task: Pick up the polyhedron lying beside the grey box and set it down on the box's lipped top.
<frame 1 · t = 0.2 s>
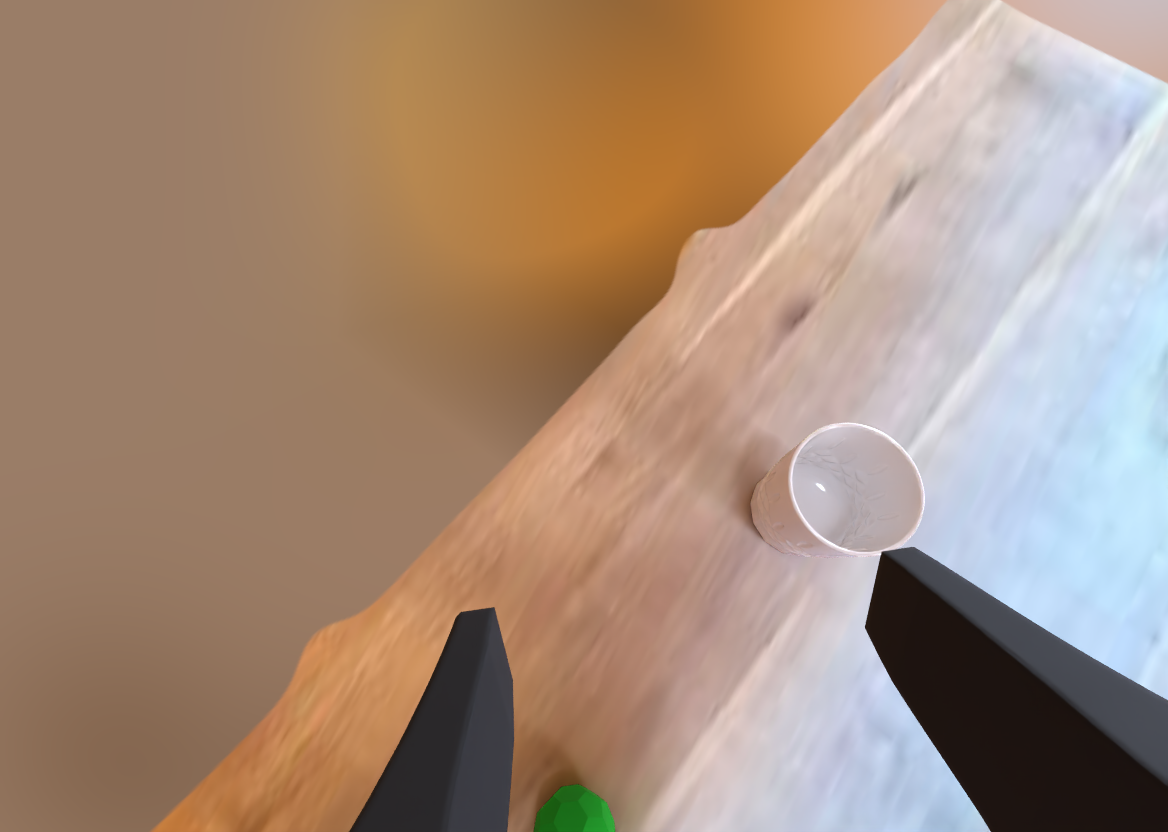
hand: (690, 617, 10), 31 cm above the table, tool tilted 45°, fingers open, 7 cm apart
polyhedron: (575, 817, 35), on the table
white cup: (793, 511, 41), on the table
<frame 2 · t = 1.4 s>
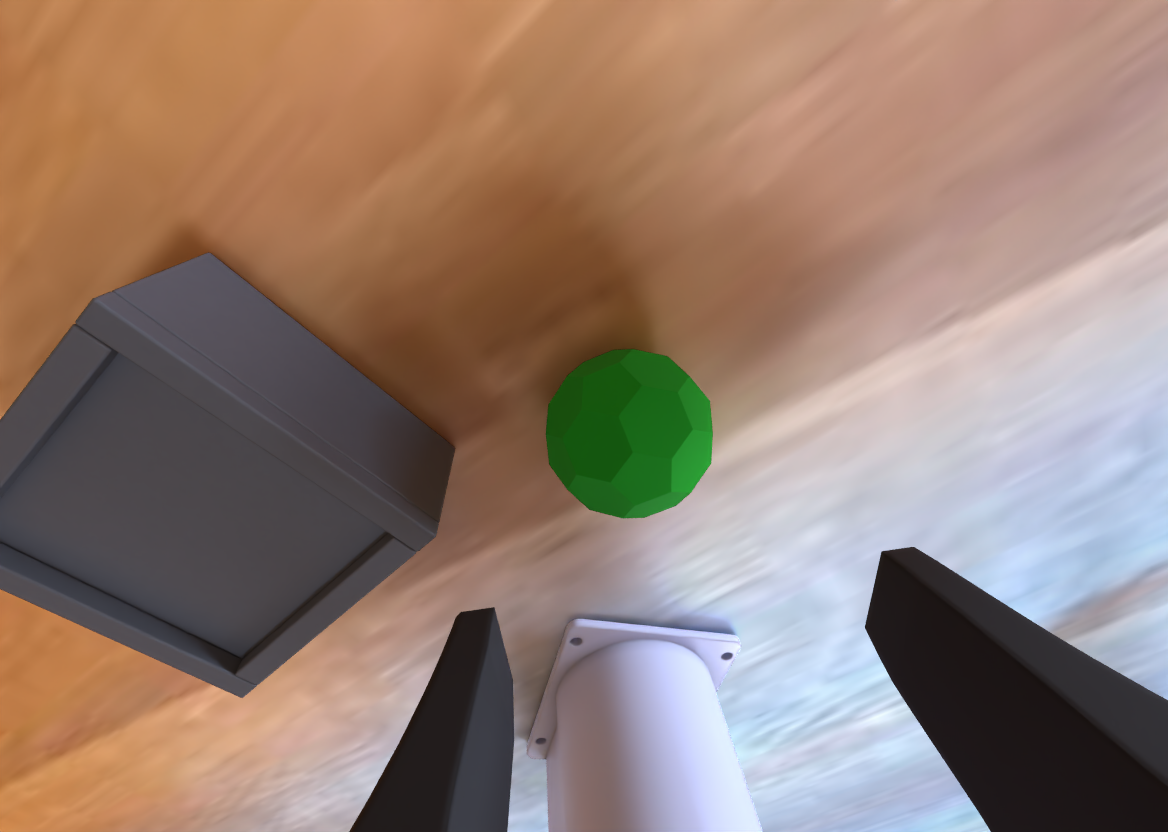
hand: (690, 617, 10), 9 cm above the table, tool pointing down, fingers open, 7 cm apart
grey box: (260, 447, 18), on the table
polyhedron: (616, 395, 18), on the table
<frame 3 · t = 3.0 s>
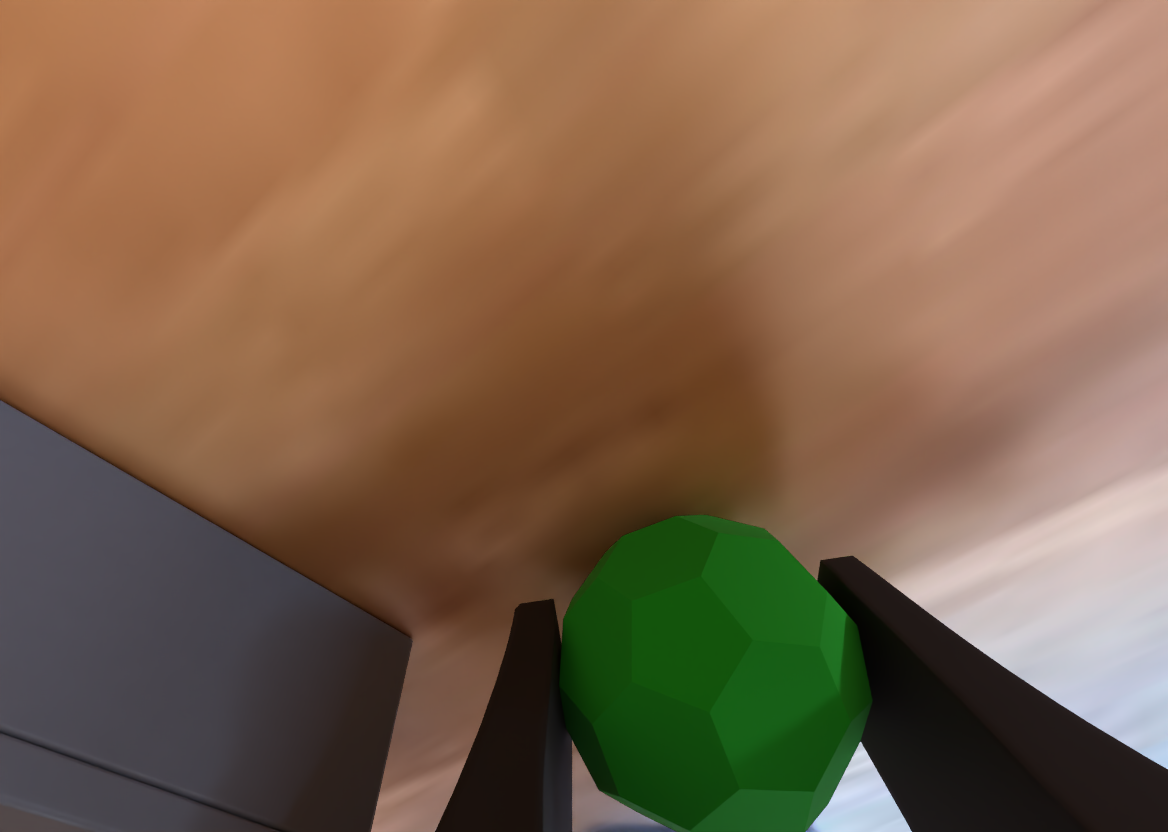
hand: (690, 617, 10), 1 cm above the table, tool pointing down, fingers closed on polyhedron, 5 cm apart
grey box: (92, 650, 11), on the table
polyhedron: (668, 557, 12), on the table, touching gripper
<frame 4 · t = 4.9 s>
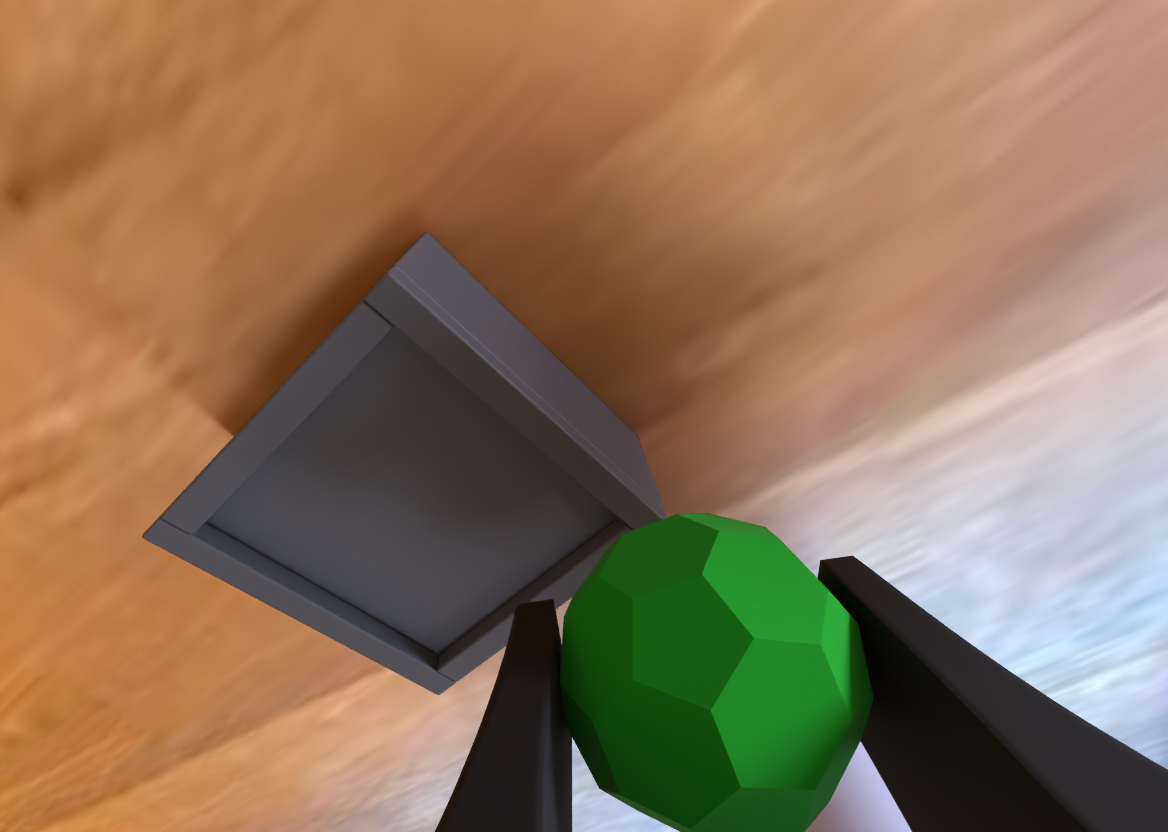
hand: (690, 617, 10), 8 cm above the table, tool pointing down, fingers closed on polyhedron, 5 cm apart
grey box: (443, 437, 17), on the table
polyhedron: (669, 556, 11), point 7 cm above the table, touching gripper
when the fingers open (5 cm above the table, at t = 6.9 s): polyhedron stays where it is, resting on grey box.
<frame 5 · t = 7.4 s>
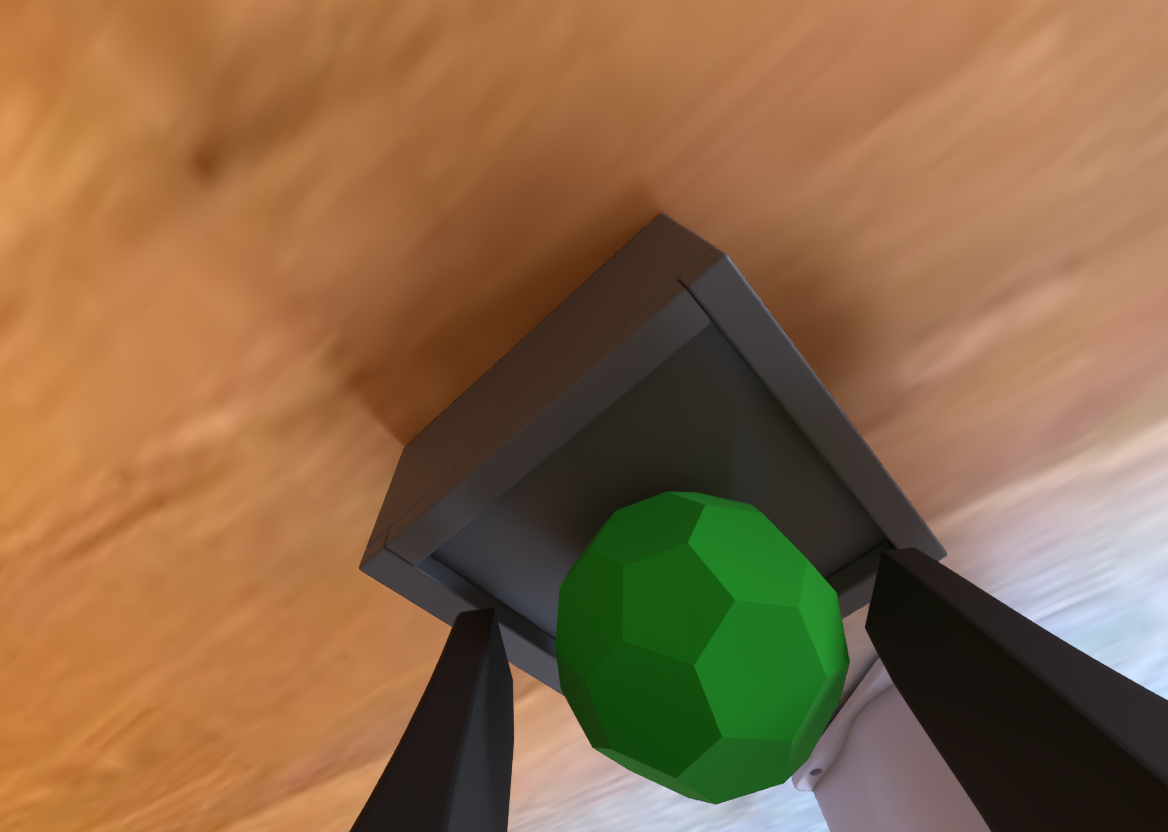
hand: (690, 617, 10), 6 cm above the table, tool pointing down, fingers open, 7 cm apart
grey box: (633, 447, 15), on the table, touching polyhedron
polyhedron: (661, 535, 12), point 4 cm above the table, touching grey box
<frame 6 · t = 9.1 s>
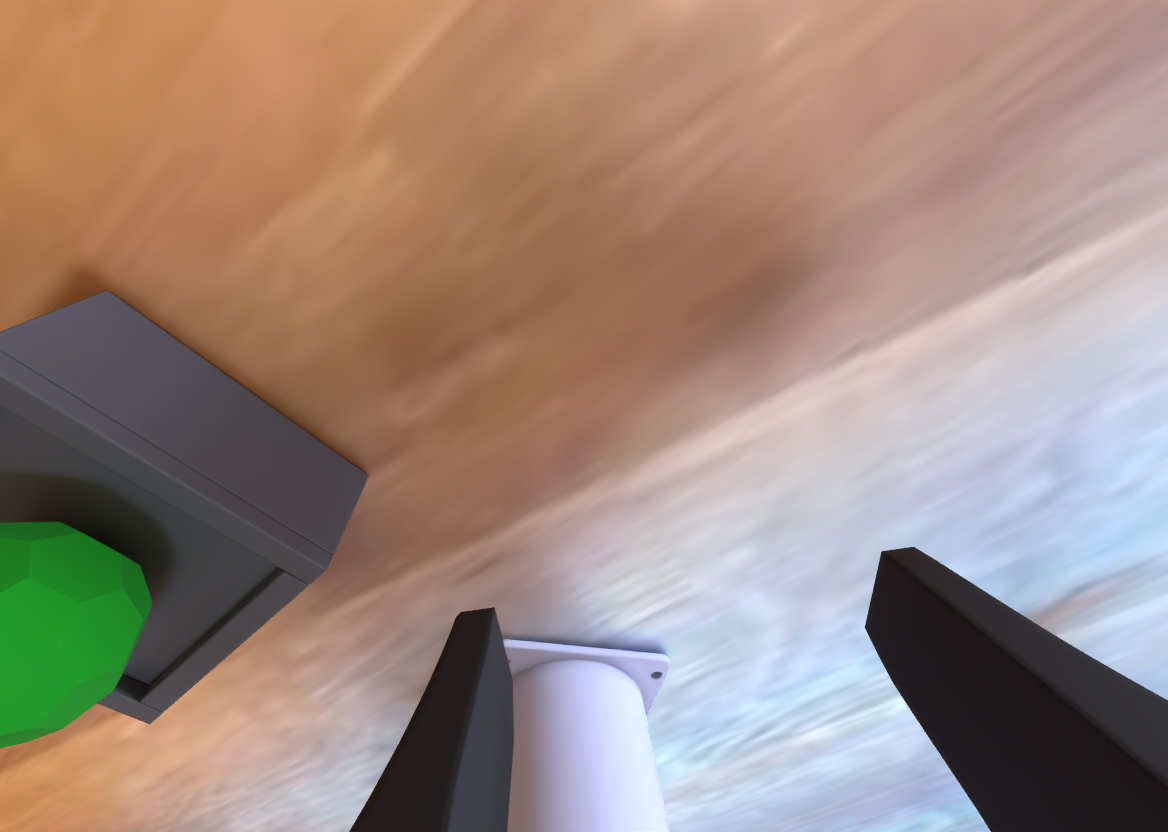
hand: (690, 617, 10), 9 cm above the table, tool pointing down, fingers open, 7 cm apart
grey box: (173, 476, 18), on the table, touching polyhedron
polyhedron: (91, 553, 15), point 4 cm above the table, touching grey box
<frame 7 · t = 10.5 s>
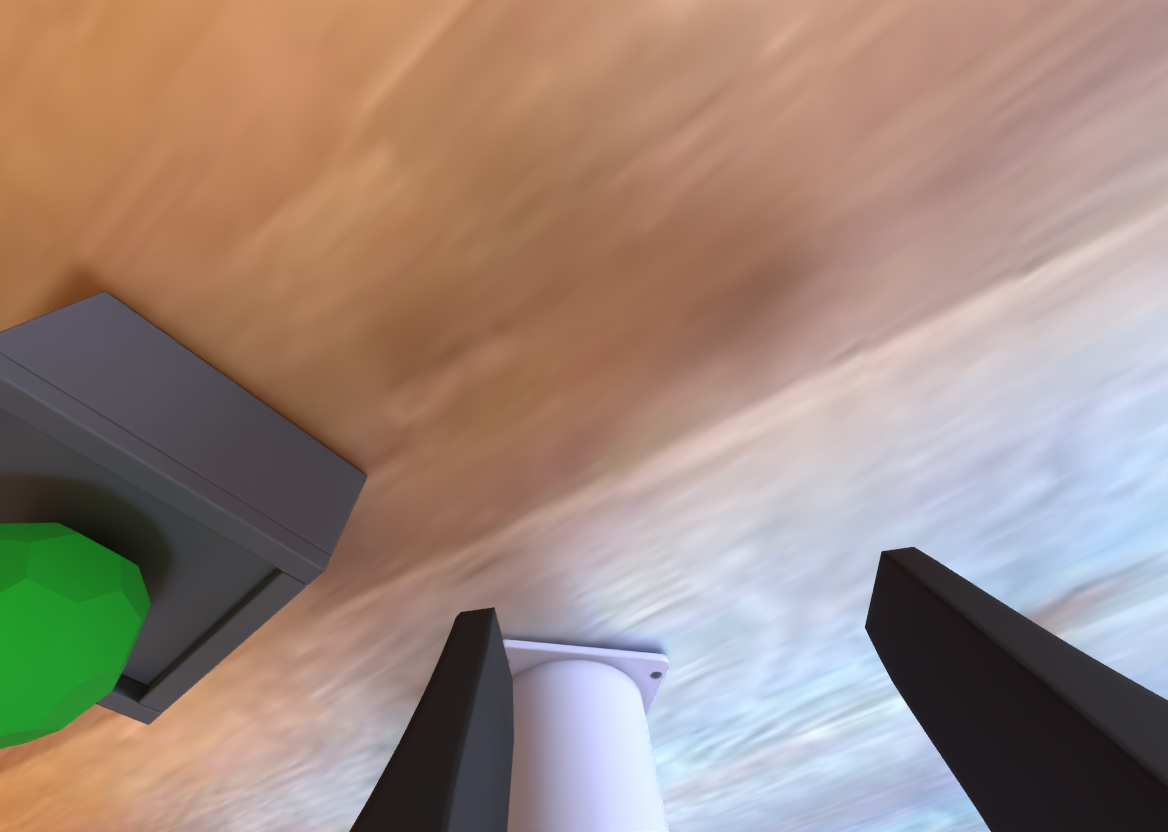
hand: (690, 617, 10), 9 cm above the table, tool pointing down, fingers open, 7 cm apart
grey box: (172, 477, 18), on the table, touching polyhedron
polyhedron: (89, 554, 15), point 4 cm above the table, touching grey box
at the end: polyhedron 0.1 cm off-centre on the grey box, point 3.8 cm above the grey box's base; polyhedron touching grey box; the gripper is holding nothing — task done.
